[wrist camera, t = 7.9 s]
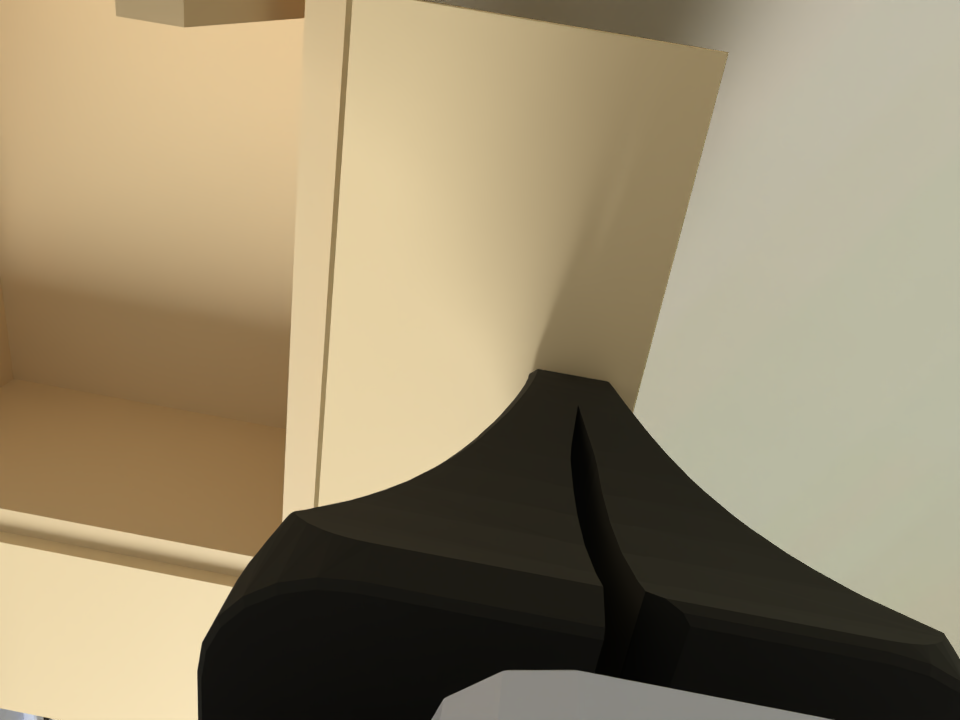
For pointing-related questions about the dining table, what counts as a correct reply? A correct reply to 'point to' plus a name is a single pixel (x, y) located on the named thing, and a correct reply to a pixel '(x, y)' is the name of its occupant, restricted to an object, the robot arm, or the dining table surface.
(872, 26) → the dining table surface
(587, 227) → the flap
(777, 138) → the dining table surface
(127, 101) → the carton
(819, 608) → the robot arm
